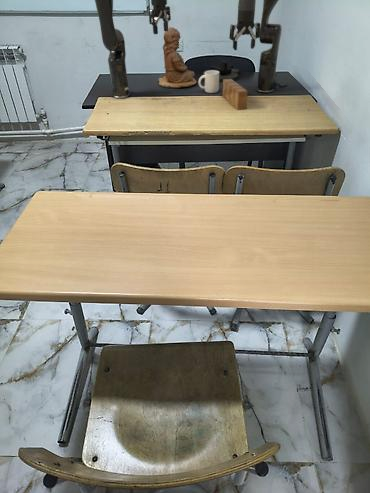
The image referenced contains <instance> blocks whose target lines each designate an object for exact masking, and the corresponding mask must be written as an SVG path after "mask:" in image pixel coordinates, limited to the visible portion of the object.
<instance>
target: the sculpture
mask: <svg viewBox="0 0 370 493" xmlns="http://www.w3.org/2000/svg"><path fill="white" fill-rule="evenodd" d="M163 40H164V44H163V45H162V50H163V61H164V71H165V73H164V75H165V76H163V77H159V78H158V79H157V80H158V84H159V86H161V87H163V88H168V89H169V88H185V87H192V86H194V85H196V83H198V81H197V79H195V76H196V74H195V72H194V71H192V70H188V66H187V65H186V64H185V60H184V58H183V57H182V56H183V55H180V53H179V52H178V51H177V50H178V49H179V46H180V40H181V33H180V32H179V30H178V29H177V28H174V27H168V31H164V33H163Z"/></svg>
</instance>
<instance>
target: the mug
mask: <svg viewBox="0 0 370 493" xmlns="http://www.w3.org/2000/svg"><path fill="white" fill-rule="evenodd" d="M204 72H205V75H203V74H202V75H201V76H200V77H199V78H198V81H197V83H198V87H199V88H200V89H201V90H204V92H205V93H207V94H216V93H218V92H219V90H220V82H219V71H216V70H210V69H209V70H204ZM203 78H205V80H204V79H203ZM202 80H204V85H202Z"/></svg>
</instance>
